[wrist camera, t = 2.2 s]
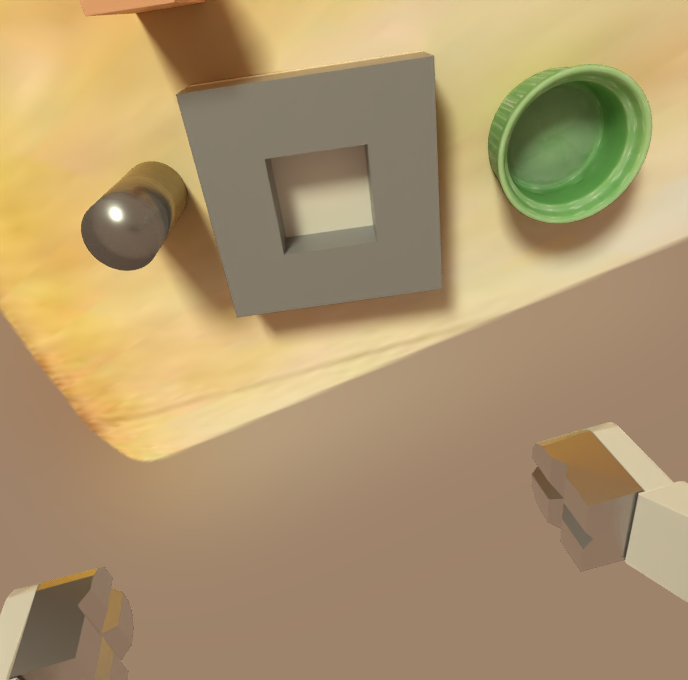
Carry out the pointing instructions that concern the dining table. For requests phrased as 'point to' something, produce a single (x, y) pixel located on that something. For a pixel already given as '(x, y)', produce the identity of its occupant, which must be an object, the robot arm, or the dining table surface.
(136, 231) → the cylinder
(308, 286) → the holder block
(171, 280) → the dining table surface
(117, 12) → the square bit
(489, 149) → the ramekin
